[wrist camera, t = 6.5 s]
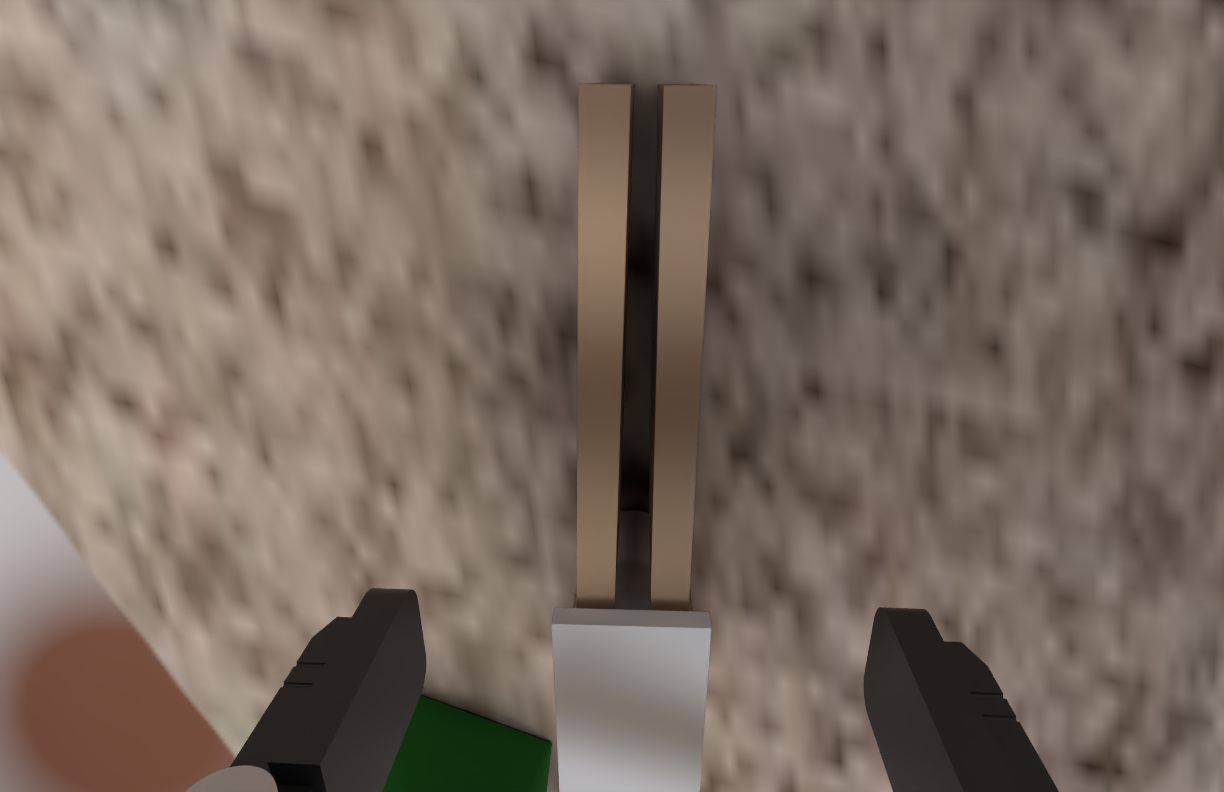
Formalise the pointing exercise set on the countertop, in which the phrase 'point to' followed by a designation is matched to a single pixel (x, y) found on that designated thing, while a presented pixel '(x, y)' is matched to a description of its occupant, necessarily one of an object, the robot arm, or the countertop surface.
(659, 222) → the tong frame
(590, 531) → the tong arm
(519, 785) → the milk carton
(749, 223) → the countertop surface
